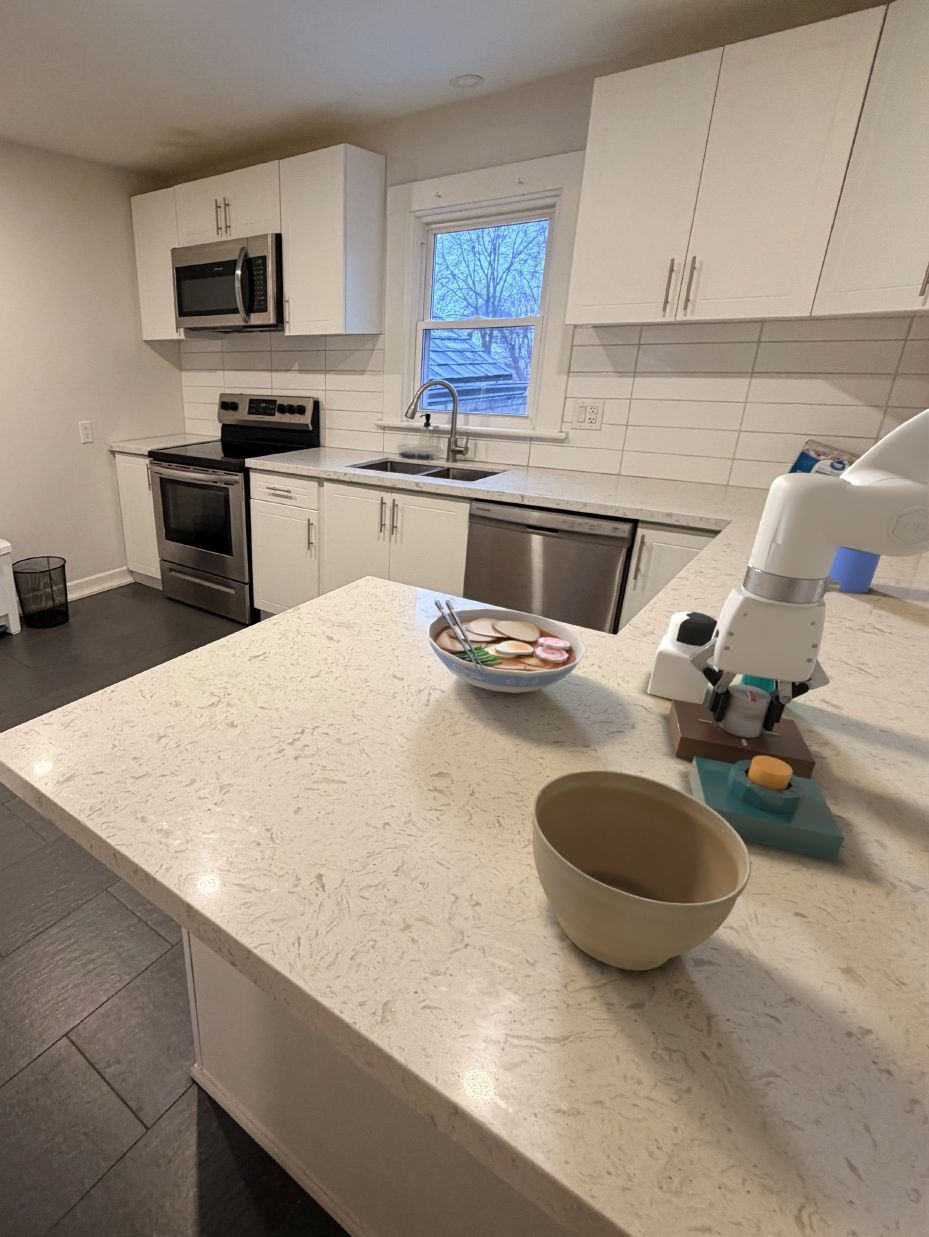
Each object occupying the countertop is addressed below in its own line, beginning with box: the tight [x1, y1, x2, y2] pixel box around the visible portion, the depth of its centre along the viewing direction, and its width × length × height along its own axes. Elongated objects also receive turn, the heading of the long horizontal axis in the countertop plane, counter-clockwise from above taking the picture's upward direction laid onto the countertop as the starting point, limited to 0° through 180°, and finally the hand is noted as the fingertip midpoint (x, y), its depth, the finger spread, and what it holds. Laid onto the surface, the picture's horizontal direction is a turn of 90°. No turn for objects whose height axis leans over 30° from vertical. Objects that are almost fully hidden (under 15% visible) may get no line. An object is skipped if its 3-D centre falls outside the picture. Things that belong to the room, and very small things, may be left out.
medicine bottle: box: [647, 611, 718, 704], centre depth 95 cm, size 7×7×12 cm
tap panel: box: [667, 699, 817, 779], centre depth 83 cm, size 14×10×3 cm
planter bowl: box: [531, 769, 752, 971], centre depth 56 cm, size 16×16×11 cm
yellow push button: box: [748, 756, 793, 791], centre depth 70 cm, size 4×4×2 cm
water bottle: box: [828, 547, 882, 594], centre depth 137 cm, size 9×9×25 cm
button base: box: [687, 756, 845, 862], centre depth 71 cm, size 12×10×5 cm
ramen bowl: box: [426, 599, 588, 694], centre depth 99 cm, size 25×23×8 cm
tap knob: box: [718, 683, 771, 738], centre depth 82 cm, size 5×5×5 cm
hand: (740, 719), depth 82 cm, fingers closed on tap knob, 4 cm apart
